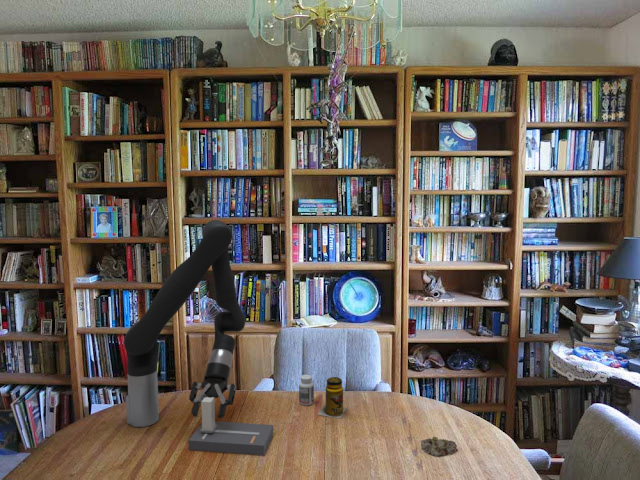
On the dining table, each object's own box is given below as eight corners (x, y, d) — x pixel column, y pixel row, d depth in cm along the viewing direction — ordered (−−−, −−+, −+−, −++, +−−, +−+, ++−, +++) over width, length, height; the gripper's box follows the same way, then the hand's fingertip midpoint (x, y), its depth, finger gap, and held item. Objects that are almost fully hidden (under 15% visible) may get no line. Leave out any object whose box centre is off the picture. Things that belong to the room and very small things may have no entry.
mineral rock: (423, 450, 134) (419, 429, 142) (421, 462, 136) (418, 440, 143) (461, 453, 134) (455, 432, 141) (459, 464, 135) (453, 442, 143)
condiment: (341, 418, 157) (341, 384, 156) (317, 415, 160) (317, 381, 158) (346, 409, 164) (346, 376, 163) (323, 405, 167) (323, 373, 165)
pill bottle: (307, 397, 173) (307, 372, 172) (316, 402, 169) (316, 377, 168) (296, 402, 170) (295, 376, 168) (305, 407, 165) (304, 381, 164)
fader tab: (200, 432, 142) (199, 402, 141) (204, 425, 146) (204, 396, 145) (212, 433, 141) (211, 403, 140) (217, 426, 145) (216, 397, 144)
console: (188, 449, 138) (188, 439, 138) (203, 429, 150) (203, 420, 150) (264, 455, 136) (263, 445, 135) (273, 434, 147) (273, 424, 147)
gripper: (194, 360, 150) (180, 411, 140) (237, 362, 148) (226, 414, 138) (201, 369, 156) (188, 419, 146) (242, 371, 154) (232, 422, 144)
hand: (207, 416), depth 142 cm, fingers open, 7 cm apart
